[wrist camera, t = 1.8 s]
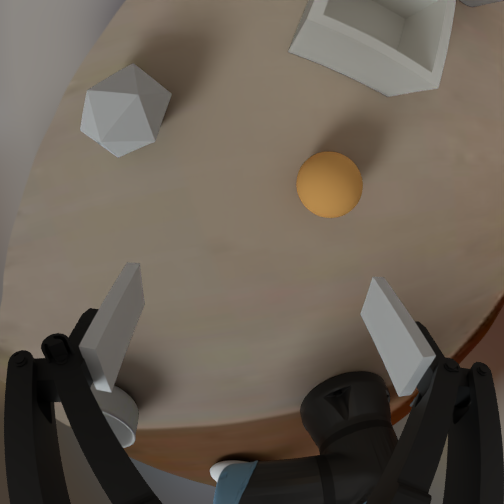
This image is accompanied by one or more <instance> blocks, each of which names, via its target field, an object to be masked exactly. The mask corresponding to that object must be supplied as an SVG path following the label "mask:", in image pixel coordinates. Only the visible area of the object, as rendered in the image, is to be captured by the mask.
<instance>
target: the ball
mask: <svg viewBox="0 0 504 504" xmlns="http://www.w3.org/2000/svg"><path fill="white" fill-rule="evenodd" d="M296 185H297V192H298V195H299V198H300V200H301V201H302V203H303V204H304V206H305V207H306V208H307V209H308V210H310V211H311V212H312V213H314V214H316V215H318V216H321V217H326V218H335V217H340V216H343V215H345V214H347V213H348V212H350V211H351V210H352V209H353V208H354V207H355V206H356V205H357V203H358V202H359V200H360V197H361V194H362V188H363V183H362V177H361V174H360V171H359V169H358V168H357V166H356V165H355V164H354V162H353V161H351V160H350V159H349V158H348V157H346V156H344V155H342V154H340V153H337V152H329V151H328V152H320V153H317V154H315V155H313V156H311V157H310V158H308V159H307V160H306V161H305V162H304V164H303V165H302V166H301V168H300V170H299V172H298V176H297V184H296Z"/></svg>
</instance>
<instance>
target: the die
mask: <svg viewBox="0 0 504 504" xmlns="http://www.w3.org/2000/svg"><path fill="white" fill-rule="evenodd" d="M171 95H172V94H171V93H170V92H169V91H168V90H167V89H165V88H164V87H163V86H162V85H160V84H159V83H158V82H157V81H155V80H154V79H153V78H152V77H150V76H149V75H148V74H147V73H145V72H144V71H143V70H142V69H140V68H139V67H138V66H136V65H135V64H134V63H133V64H131V65H129V66H127V67H125V68H123V69H122V70H120V71H118V72H116V73H115V74H113V75H111V76H109V77H108V78H106V79H104V80H103V81H101V82H99V83H98V84H96V85H95V86H93V87H92V88H90V89H88V90H87V94H86V99H85V104H84V110H83V115H82V121H81V128H80V131H82V132H83V133H85V134H86V135H87V136H89V137H90V138H91V139H93V140H94V141H96V142H97V143H98V144H100V145H101V146H103V147H104V148H105V149H107V150H108V151H110V152H111V153H112V154H114V155H115V156H116V157H118V158H119V157H121V156H123V155H125V154H127V153H130V152H132V151H134V150H136V149H139V148H141V147H143V146H146V145H148V144H150V143H153V142H155V141H156V138H157V135H158V132H159V129H160V126H161V123H162V120H163V117H164V114H165V112H166V109H167V106H168V103H169V101H170V98H171Z"/></svg>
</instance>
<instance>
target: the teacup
mask: <svg viewBox="0 0 504 504" xmlns="http://www.w3.org/2000/svg"><path fill="white" fill-rule="evenodd" d="M90 389H91V391H92V393H93V395H94V397H95V399H96V401H97V403H98V405H99V407H100V409H101V410H102V412H103V414H104V416H105V418H106V420H107V422H108V423H109V425H110V427H111V429H112V430H113V432H114V434H115V435H116V437H117V439H118V441H119V442H120V444H121V445H122V447H128V446H130V445H132V444H133V443H134V442H135V434H136V429H137V424H138V415H139V413H138V408H137V405H136V403H135V402H134V400H133V399H132V398H131V397H130V396H129V395H128V394H127V393H126V392H125V391H123V390H122V389H120V388H118V387H116V386H114V387H113V390H112V393H111V392H106V391H101V390H97V389H96V388H95V385H94V384H93V385H91V388H90Z"/></svg>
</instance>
